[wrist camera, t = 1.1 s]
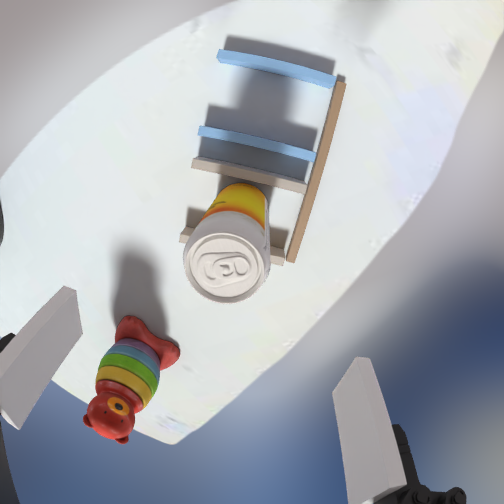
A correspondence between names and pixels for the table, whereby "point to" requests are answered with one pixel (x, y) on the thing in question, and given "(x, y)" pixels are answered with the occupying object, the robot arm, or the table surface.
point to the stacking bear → (127, 379)
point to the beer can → (230, 246)
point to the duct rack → (277, 145)
